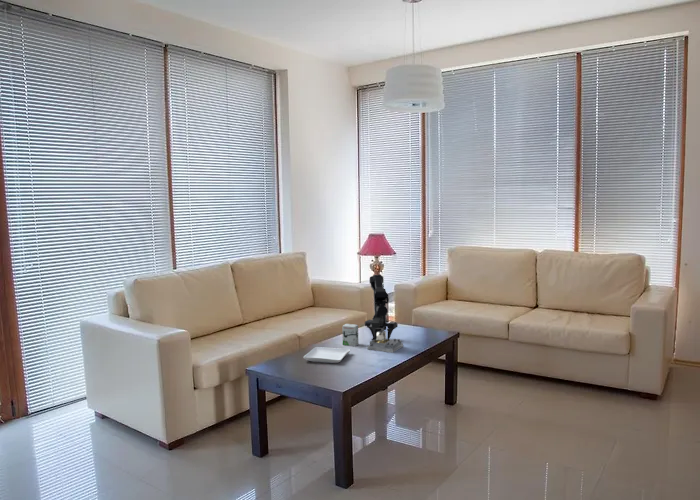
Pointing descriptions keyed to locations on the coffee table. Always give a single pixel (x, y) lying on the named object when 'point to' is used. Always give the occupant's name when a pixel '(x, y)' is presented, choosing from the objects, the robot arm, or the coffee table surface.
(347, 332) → the ink box
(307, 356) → the salad plate
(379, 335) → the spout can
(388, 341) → the gearbox
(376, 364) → the coffee table surface
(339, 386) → the coffee table surface
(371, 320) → the robot arm
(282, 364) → the coffee table surface
